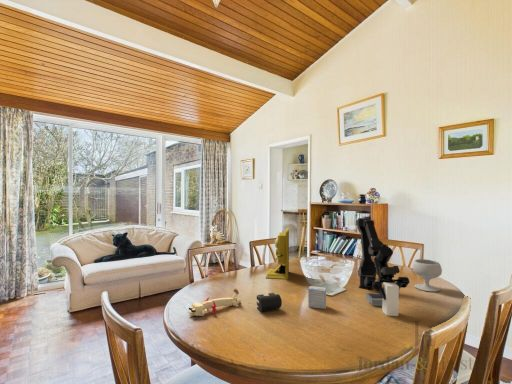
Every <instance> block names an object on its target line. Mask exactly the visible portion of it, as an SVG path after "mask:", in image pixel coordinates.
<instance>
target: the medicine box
mask: <svg viewBox="0 0 512 384" xmlns="http://www.w3.org/2000/svg"><path fill="white" fill-rule="evenodd" d="M307 302H308V308H314V309H322V310H326V309H327V287H323V286H310V285H309V286H308V301H307Z"/></svg>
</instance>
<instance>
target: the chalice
mask: <svg viewBox="0 0 512 384" xmlns="http://www.w3.org/2000/svg"><path fill="white" fill-rule="evenodd" d="M412 271H413V272H414V273H415V275H418V276H419V277H421V278H422V279H423V280H424V283H417V284H415V285H414V288H415V289H418V290H420V291H424V292H434V293H435V292H439V291H441V289H440V288H439V287H437V286H434V285H431V284H429V283H430V281H431V280H433V279H437V278H438V277H440V276H441V275H442V272H443V268H442V266H441V264H440V262H439V261H435V260H431V259H424V258H423V259H422V258H421V259H420V258H419V259H415V260H414V262H413V263H412Z"/></svg>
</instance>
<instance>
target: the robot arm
mask: <svg viewBox="0 0 512 384" xmlns="http://www.w3.org/2000/svg"><path fill="white" fill-rule="evenodd" d="M355 225H356V226H357V227H356V228H357V231H358V232H359V234H360V241H361V243H360V245H361V256H362V257H361V258H362V259H361V261H360V263H359V268H358V270H357V276H358V277H359V286H358V287H359V288H360V289H365V290H369V291H371V290H373V289H374V290H375V291H376V293H379V294H380V295H381V296H382V298H383V299H384V300H386V297H385V293H384V291H383V282H390V283H395V284H397V285H398V286H399V291H400V289H402V288H404V289H405V288H407V287H408V285H409V284H410V283H411V282H410V278H409V277H407V276H398V277H397V279H393V278H395V275H397V274H400V272H401V271H400V268H399V265H394V266H393V265H392V266H389V265H388V263H389V262H390V260H391V258H392V256H393V254H394V251H393V249H392V248H391V247H390V246H387V244H384V242H382V241H381V240H380V239H379V236H378V233H377V230H376V227H375V221H374V220H373V219H370V218H369V217H358V218H357V219H356V221H355ZM372 257H374V258H373V259H372ZM377 276H378V277H377Z"/></svg>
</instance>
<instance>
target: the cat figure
mask: <svg viewBox="0 0 512 384" xmlns="http://www.w3.org/2000/svg"><path fill="white" fill-rule="evenodd" d="M233 292H234V294H233V295H232V297H220V298H219V297H218V298H213V299H210V298H211V297H207V298H206V300H204V301H203V302H202V301H201V302H193V303H192V304H191V306H189V307H188V310H189V311H188V312H187V314H189V317H194V316H196V317H198V316H200V317H201V316H203V317H204V315H205V313H207V311H208V310H210V309H211V312H212V314H213V315H214V314H216V312H217V308H218V307H228V306H230V307H231V306H234V307H235V306H239V307H240V306H242V300H241V299H237V297H238V295H239V294H240V292H239V290H238V289H237V288H234V289H233ZM209 299H210V300H209Z"/></svg>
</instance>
